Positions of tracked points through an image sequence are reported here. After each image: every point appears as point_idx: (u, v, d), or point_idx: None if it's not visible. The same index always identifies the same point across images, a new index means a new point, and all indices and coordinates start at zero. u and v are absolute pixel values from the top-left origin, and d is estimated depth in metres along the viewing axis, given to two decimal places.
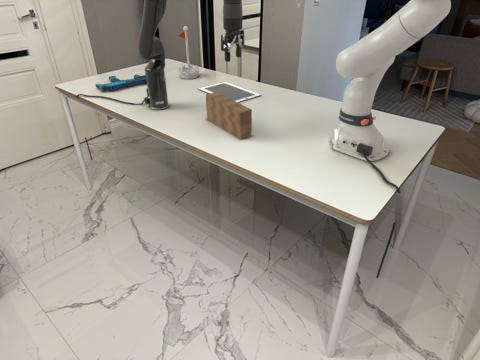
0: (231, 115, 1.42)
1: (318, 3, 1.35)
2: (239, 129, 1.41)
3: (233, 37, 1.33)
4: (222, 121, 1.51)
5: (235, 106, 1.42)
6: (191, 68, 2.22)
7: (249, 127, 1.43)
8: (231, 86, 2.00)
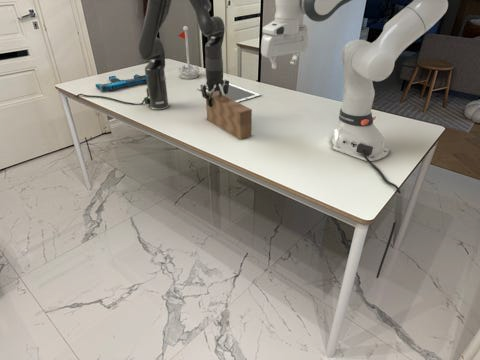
0: (231, 115, 1.42)
1: None
2: (239, 128, 1.41)
3: (212, 86, 1.49)
4: (222, 121, 1.51)
5: (235, 106, 1.42)
6: (191, 68, 2.22)
7: (249, 127, 1.43)
8: (231, 86, 2.00)
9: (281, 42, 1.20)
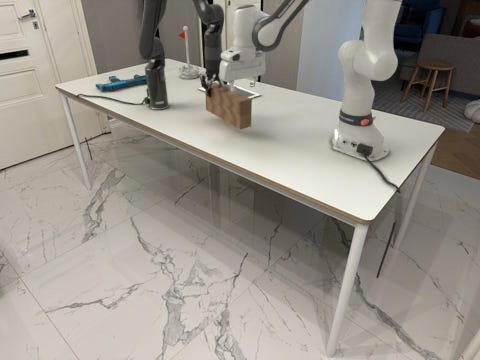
0: (231, 104, 1.40)
1: None
2: (239, 119, 1.38)
3: (212, 75, 1.46)
4: (221, 112, 1.48)
5: (235, 96, 1.40)
6: (191, 68, 2.22)
7: (249, 117, 1.40)
8: None
9: (238, 68, 1.28)
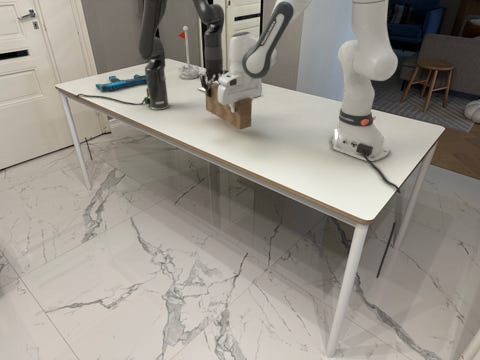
0: None
1: None
2: (239, 119, 1.38)
3: (212, 75, 1.46)
4: (221, 112, 1.48)
5: None
6: (191, 68, 2.22)
7: (249, 117, 1.40)
8: None
9: (235, 91, 1.33)
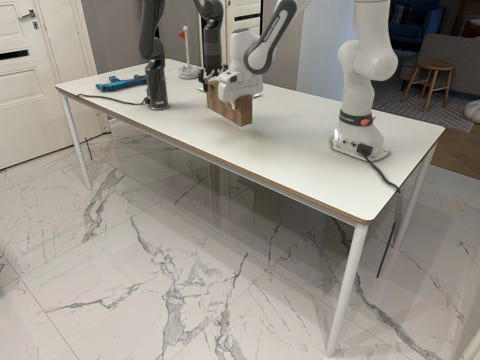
0: None
1: None
2: (240, 116, 1.38)
3: (211, 71, 1.46)
4: (222, 109, 1.48)
5: None
6: (191, 68, 2.22)
7: (250, 114, 1.40)
8: None
9: (236, 88, 1.32)
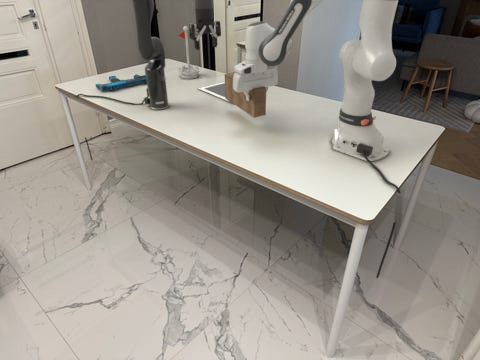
0: None
1: None
2: (253, 107, 1.42)
3: (202, 27, 1.40)
4: (238, 100, 1.53)
5: None
6: (191, 68, 2.22)
7: (263, 105, 1.44)
8: None
9: (250, 79, 1.37)
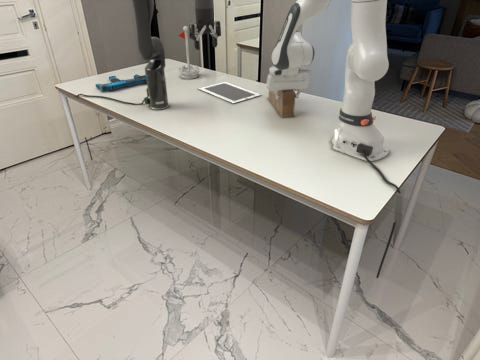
0: (279, 95, 1.63)
1: None
2: (282, 108, 1.60)
3: (202, 27, 1.40)
4: (274, 101, 1.72)
5: None
6: (191, 68, 2.22)
7: (291, 108, 1.61)
8: (231, 86, 2.00)
9: (282, 80, 1.55)
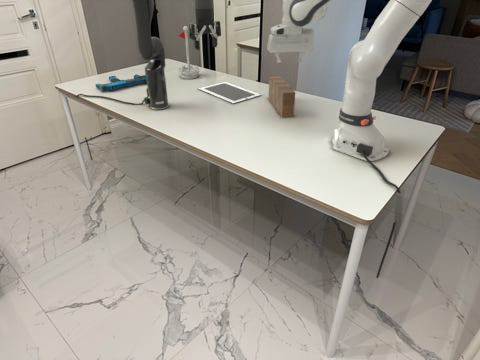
0: (279, 95, 1.63)
1: None
2: (282, 108, 1.60)
3: (202, 27, 1.40)
4: (274, 101, 1.72)
5: (284, 88, 1.62)
6: (191, 68, 2.22)
7: (291, 108, 1.61)
8: (231, 86, 2.00)
9: (284, 41, 1.46)
